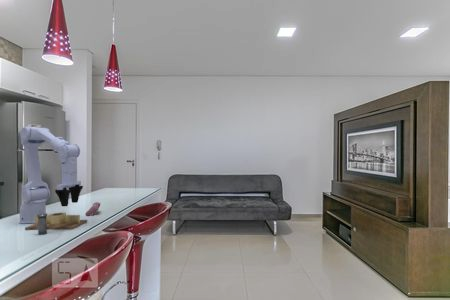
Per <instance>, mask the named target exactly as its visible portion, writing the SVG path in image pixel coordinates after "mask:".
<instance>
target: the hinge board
mask: <svg viewBox="0 0 450 300" xmlns="http://www.w3.org/2000/svg"><path fill="white" fill-rule="evenodd" d="M86 223H88V219H80V223H78V224H61V225H55V226H50V225H49V224H47V231H48V230H75V229H77V228H78V227H80V226H82V225H84V224H86ZM24 230H25V231H31V230H32V231H35V230H37V231H38V224H35V223H32V224H31V225H28V226H26V227H24Z"/></svg>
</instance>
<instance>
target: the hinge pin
mask: <svg viewBox="0 0 450 300" xmlns="http://www.w3.org/2000/svg"><path fill="white" fill-rule="evenodd" d="M47 215H48V213H46V214H38V215H37V217H38V230H37V235H38V236H43V235H46V234H47V232H48V230H47Z"/></svg>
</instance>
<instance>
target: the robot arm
mask: <svg viewBox="0 0 450 300" xmlns="http://www.w3.org/2000/svg"><path fill="white" fill-rule="evenodd" d="M19 137H20V144H21V145H22V147H23V150H24V157H25V164H26V165H25V166H26V174H27V181H28V182H27V183H26V184H25V185H23V186H22V187H21V201H22V204H21V205H20V207H19V222H18V224H35V216H37V215H38V214H47V213H46V211H47V210H46V208H47V207H46V202H47V201H48V200H49V198H50V196H51V191H50V187H49V185H48V183H46V182H45V181H43V180H42V172H41V166H40V165H41V164H40V158H39V157H40V156H39V147H41V146H43V145H44V144H45V143H48V144H49V146H50V148H51V149H53V150H54V151H55V152H57V154H58V157H59V162H60V163H61V183H59V184H57V185H56V189H55V191H54V192H55V195H57V197H58V200H59V202H60V205H61V207H68V205H69V198H70V200H71V202H72V203H73V204H74V203H76V204H77V203H78V202H79V199H80V196H81V192H82V189H83V188H84V185H81V184H82V181H81V180H78V157H79V156H80V153H81V150H80V147H79V146H78V145H77V144H72V143H70V142H69V141H66V140H65V139H64V137H63V136H57V137H56V136H55V135H54V134H53V133H52V132H51V131H50V129H49V128H48V127H37V126H36V127H35V126H27V125H26V126H23V127H22V128H21V130H20V132H19Z"/></svg>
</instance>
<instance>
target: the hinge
mask: <svg viewBox="0 0 450 300" xmlns="http://www.w3.org/2000/svg"><path fill="white" fill-rule="evenodd" d="M80 220H81V215H80V214H67V213H66V212H55V213H51V214H47V224H49V225H50V226H55V225H61V224H78V223H80ZM34 224H38V217H37V216H35V223H34Z"/></svg>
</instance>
